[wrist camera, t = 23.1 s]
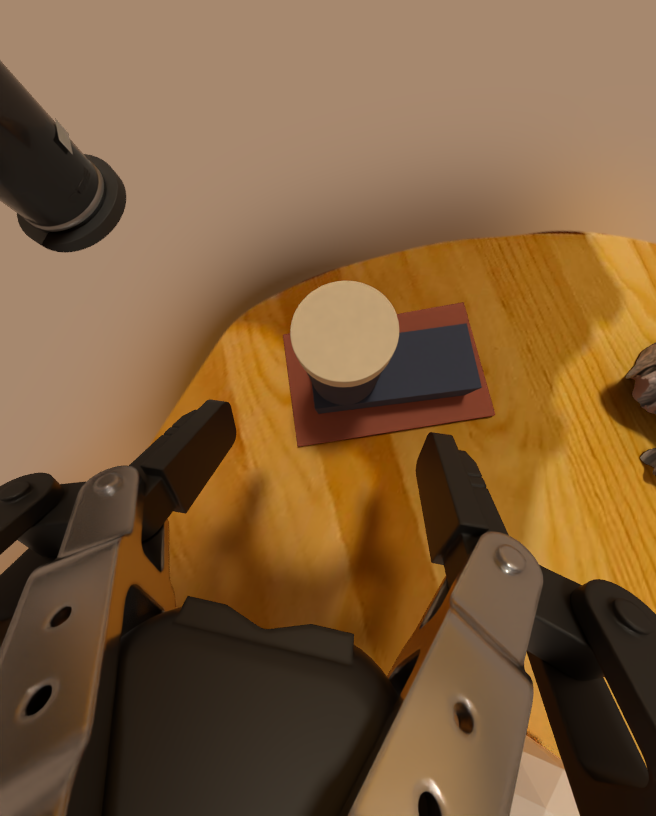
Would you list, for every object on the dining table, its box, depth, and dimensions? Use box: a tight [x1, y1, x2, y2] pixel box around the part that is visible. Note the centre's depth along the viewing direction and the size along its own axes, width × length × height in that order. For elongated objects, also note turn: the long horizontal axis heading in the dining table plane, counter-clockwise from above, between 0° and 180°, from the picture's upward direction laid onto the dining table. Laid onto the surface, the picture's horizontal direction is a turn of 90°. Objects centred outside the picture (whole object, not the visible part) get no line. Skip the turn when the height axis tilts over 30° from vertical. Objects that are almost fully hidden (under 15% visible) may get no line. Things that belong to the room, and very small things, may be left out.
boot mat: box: [283, 302, 495, 447], centre depth 20 cm, size 16×10×1 cm, turn 99°
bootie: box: [290, 281, 482, 414], centre depth 16 cm, size 12×5×9 cm, turn 97°
